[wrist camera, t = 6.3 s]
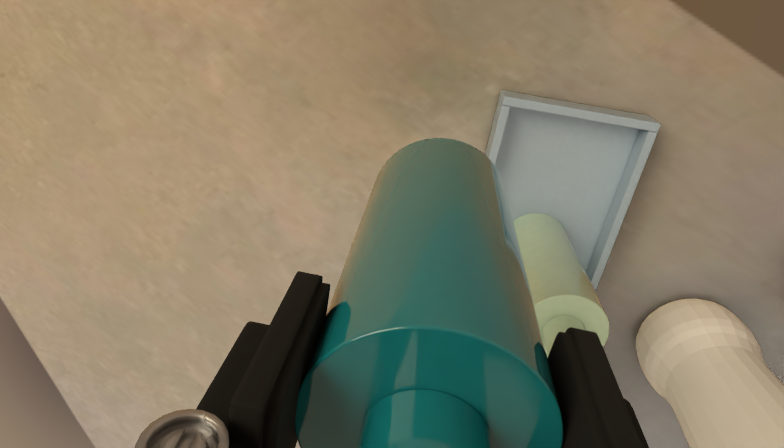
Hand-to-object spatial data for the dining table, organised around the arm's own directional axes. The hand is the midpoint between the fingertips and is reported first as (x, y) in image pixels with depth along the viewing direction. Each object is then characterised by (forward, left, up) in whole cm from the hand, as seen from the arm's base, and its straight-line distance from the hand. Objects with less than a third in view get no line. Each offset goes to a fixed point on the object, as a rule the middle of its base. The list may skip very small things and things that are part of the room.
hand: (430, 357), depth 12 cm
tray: (+9, +9, -27) cm, 30 cm away
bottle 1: (+9, +9, -26) cm, 29 cm away
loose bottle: (0, 0, -9) cm, 9 cm away
